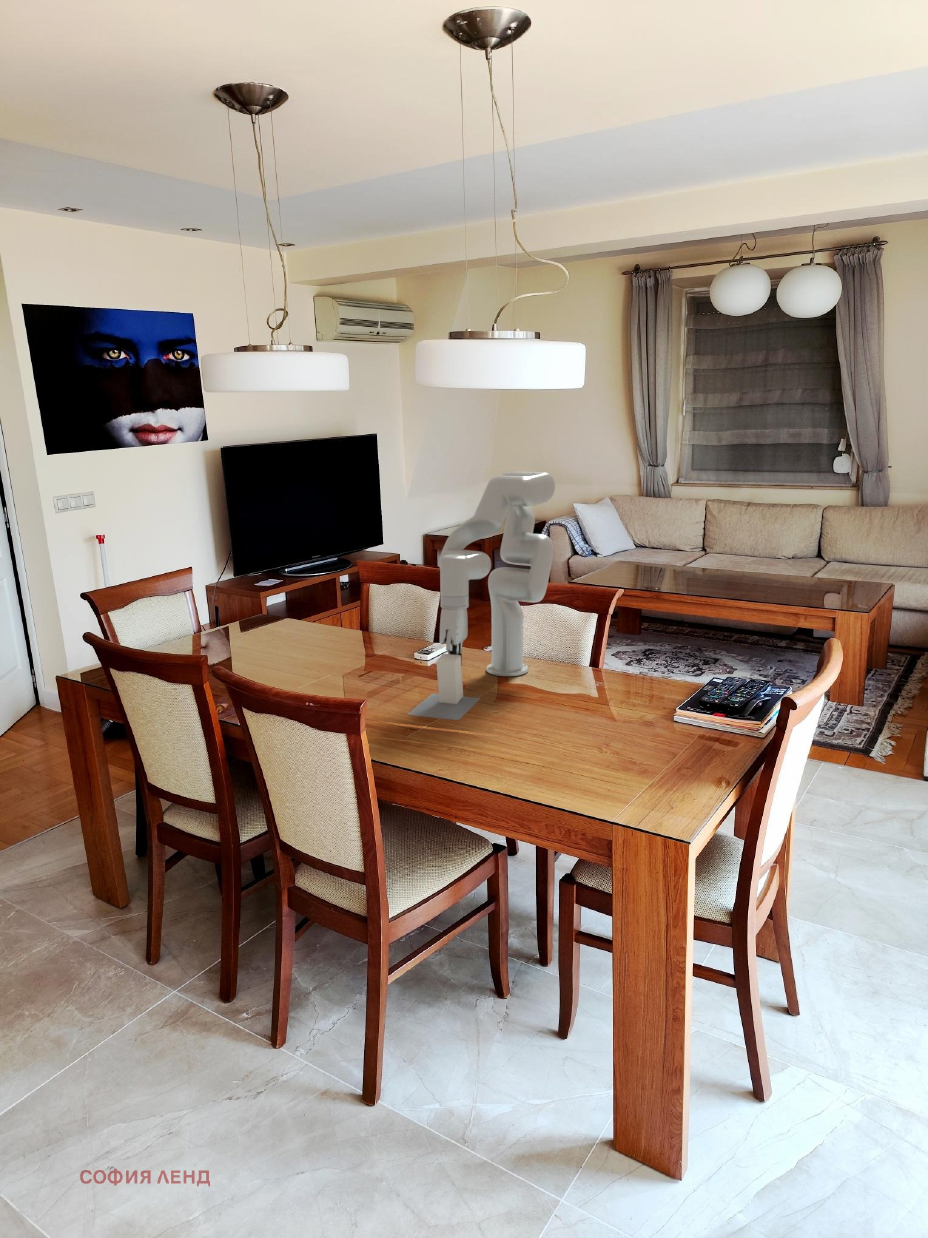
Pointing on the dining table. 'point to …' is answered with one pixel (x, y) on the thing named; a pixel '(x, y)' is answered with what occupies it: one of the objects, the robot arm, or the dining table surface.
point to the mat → (443, 708)
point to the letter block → (449, 678)
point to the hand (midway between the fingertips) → (455, 667)
